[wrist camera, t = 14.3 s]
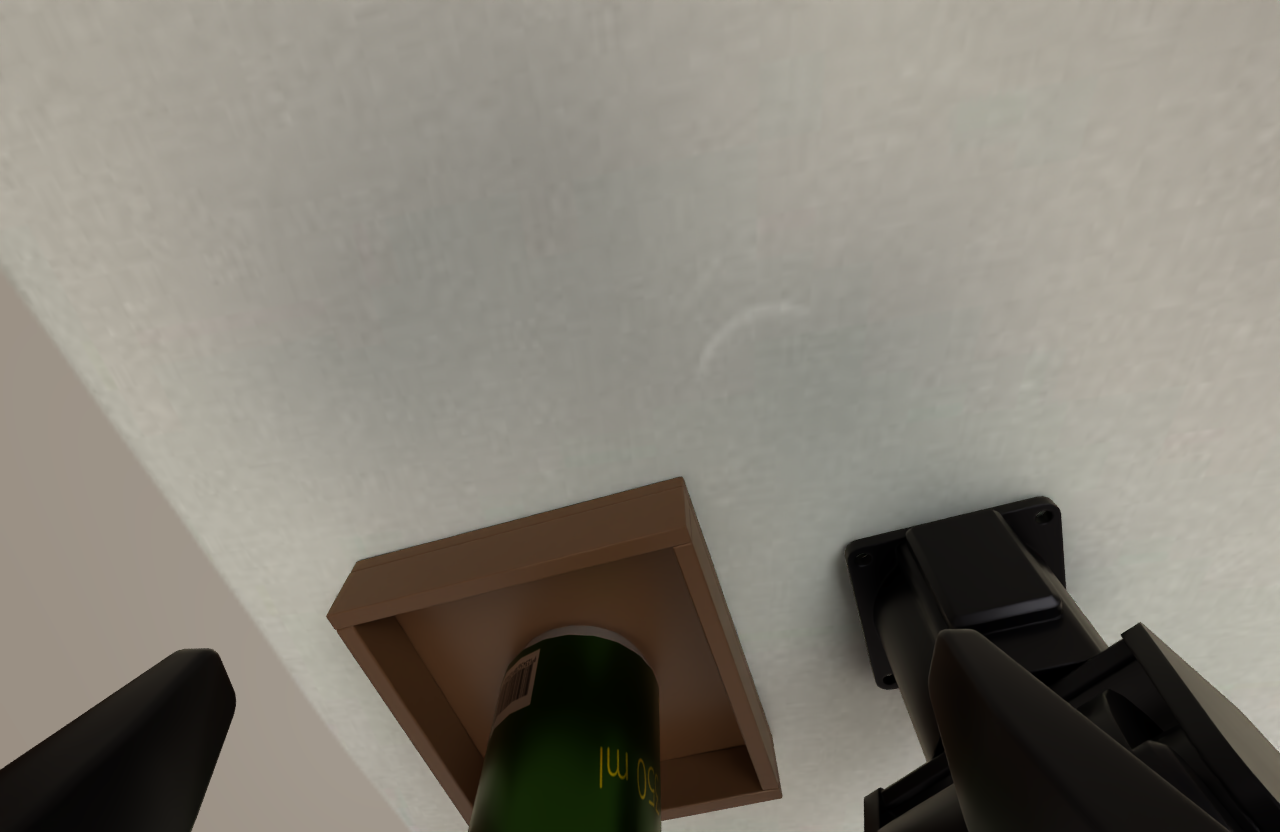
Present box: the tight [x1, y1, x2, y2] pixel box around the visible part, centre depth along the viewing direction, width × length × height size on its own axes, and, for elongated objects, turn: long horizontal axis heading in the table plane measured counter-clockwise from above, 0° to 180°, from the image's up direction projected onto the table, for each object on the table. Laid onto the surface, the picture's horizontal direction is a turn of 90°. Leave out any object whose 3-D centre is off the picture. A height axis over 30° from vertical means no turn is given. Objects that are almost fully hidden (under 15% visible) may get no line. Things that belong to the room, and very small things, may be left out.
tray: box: [326, 477, 782, 826], centre depth 25 cm, size 12×11×3 cm
